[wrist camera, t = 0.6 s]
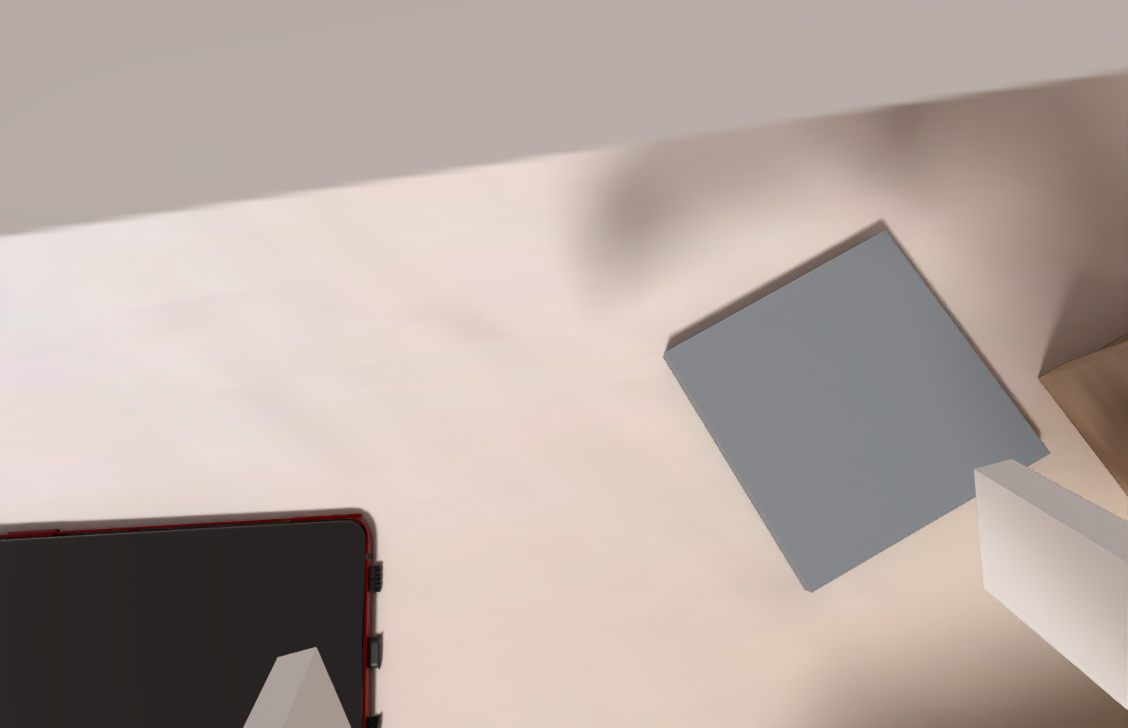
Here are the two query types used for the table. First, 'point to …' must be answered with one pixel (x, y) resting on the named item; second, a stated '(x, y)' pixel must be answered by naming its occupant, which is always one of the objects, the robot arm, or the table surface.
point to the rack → (1097, 402)
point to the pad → (850, 409)
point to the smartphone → (180, 621)
